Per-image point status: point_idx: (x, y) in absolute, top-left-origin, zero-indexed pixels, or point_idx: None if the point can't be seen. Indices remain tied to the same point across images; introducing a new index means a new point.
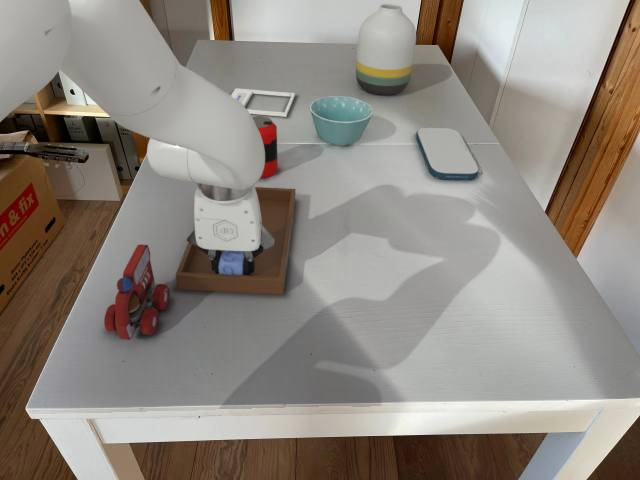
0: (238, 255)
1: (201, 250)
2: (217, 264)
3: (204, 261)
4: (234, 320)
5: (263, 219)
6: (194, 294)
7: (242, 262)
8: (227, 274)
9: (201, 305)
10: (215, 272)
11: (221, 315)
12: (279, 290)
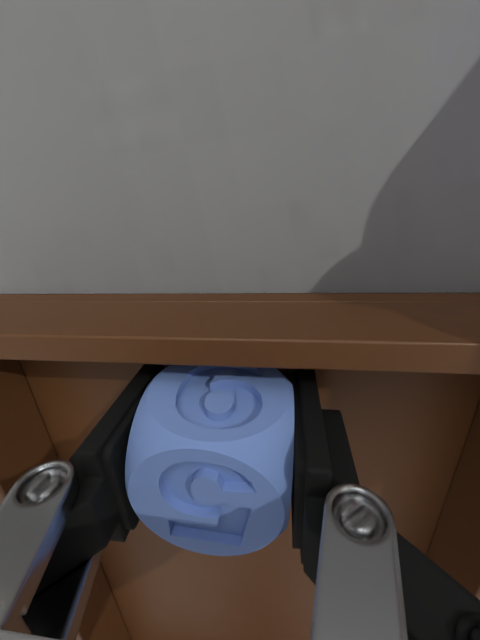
0: (164, 508)
1: (476, 599)
2: (302, 441)
3: (387, 466)
4: (150, 67)
5: (196, 615)
6: (421, 263)
7: (128, 454)
8: (241, 379)
9: (372, 176)
10: (315, 391)
11: (236, 102)
12: None
